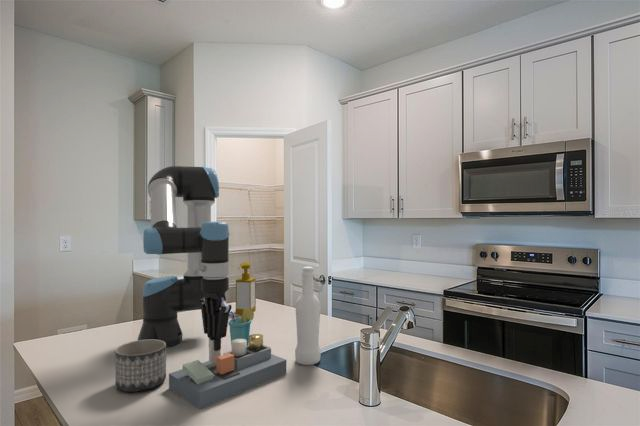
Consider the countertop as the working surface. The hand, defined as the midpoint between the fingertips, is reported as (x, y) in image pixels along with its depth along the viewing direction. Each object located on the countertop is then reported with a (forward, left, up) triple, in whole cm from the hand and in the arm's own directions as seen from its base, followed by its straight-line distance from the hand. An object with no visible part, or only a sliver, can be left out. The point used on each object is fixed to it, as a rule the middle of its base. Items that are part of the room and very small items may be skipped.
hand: (214, 360), depth 108 cm
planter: (-13, -15, -6) cm, 21 cm away
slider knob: (+6, 0, -1) cm, 6 cm away
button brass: (+3, +12, +1) cm, 13 cm away
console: (+3, +3, -6) cm, 7 cm away
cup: (-13, +17, -6) cm, 23 cm away
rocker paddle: (+3, -7, 0) cm, 7 cm away
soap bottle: (-53, +48, -6) cm, 72 cm away
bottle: (+9, +28, -6) cm, 30 cm away
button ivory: (+3, +6, +1) cm, 7 cm away
